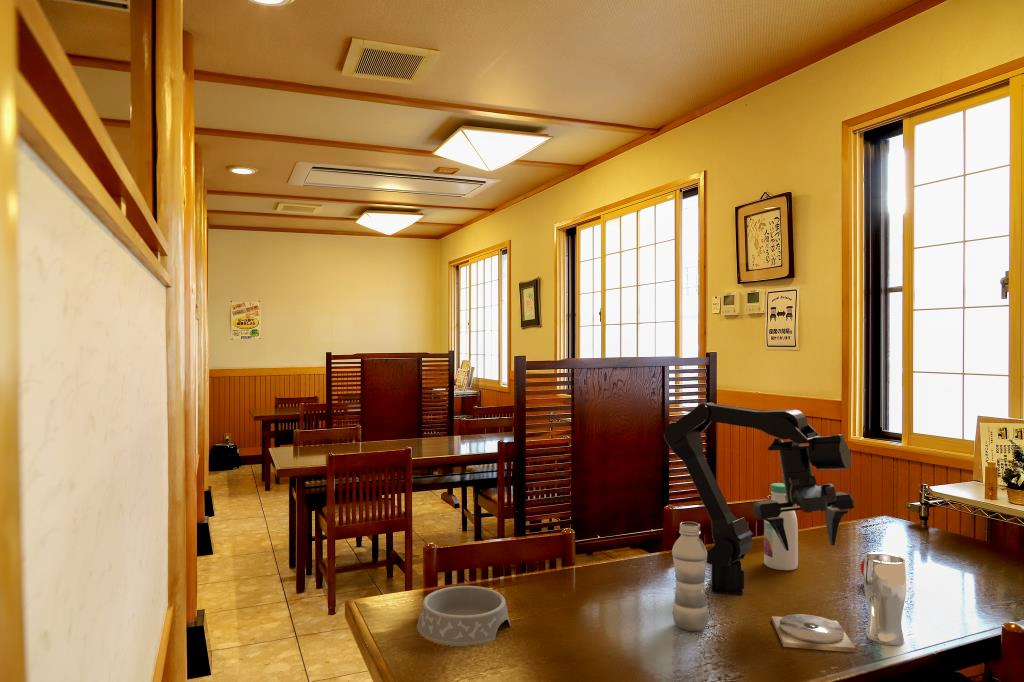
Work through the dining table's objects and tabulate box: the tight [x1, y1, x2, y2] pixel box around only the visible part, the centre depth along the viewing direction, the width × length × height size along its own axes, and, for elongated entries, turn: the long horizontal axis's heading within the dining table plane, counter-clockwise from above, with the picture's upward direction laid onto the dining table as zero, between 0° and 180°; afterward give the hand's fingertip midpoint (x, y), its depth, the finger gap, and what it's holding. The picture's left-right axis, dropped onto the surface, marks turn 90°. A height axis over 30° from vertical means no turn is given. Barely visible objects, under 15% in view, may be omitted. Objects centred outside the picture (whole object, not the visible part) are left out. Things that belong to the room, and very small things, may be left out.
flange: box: [780, 613, 845, 644], centre depth 128 cm, size 11×11×1 cm
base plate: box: [771, 615, 856, 653], centre depth 128 cm, size 12×12×1 cm
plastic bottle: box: [671, 521, 710, 632], centre depth 131 cm, size 6×7×20 cm
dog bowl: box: [416, 585, 511, 647], centre depth 133 cm, size 17×18×5 cm
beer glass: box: [863, 552, 907, 647], centre depth 127 cm, size 7×7×15 cm
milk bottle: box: [763, 482, 799, 571], centre depth 168 cm, size 8×8×20 cm
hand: (809, 547), depth 140 cm, fingers open, 9 cm apart
